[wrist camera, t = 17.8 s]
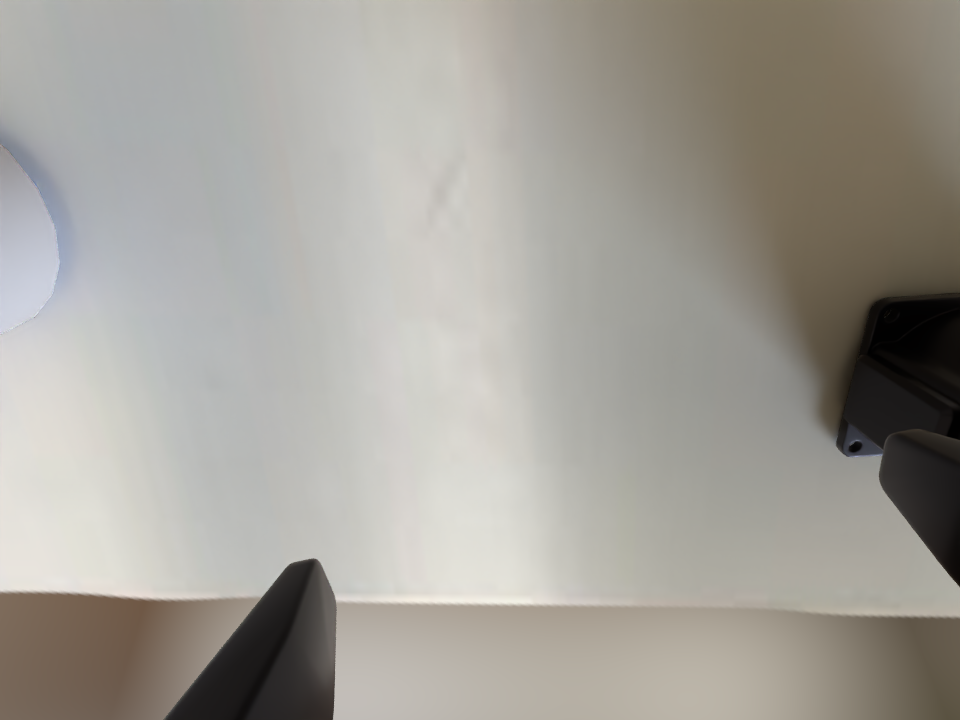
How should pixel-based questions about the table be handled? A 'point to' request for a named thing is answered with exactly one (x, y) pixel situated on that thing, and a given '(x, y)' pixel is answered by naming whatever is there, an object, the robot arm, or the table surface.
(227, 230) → the table surface
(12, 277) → the can
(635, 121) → the table surface
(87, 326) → the table surface
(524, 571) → the table surface
